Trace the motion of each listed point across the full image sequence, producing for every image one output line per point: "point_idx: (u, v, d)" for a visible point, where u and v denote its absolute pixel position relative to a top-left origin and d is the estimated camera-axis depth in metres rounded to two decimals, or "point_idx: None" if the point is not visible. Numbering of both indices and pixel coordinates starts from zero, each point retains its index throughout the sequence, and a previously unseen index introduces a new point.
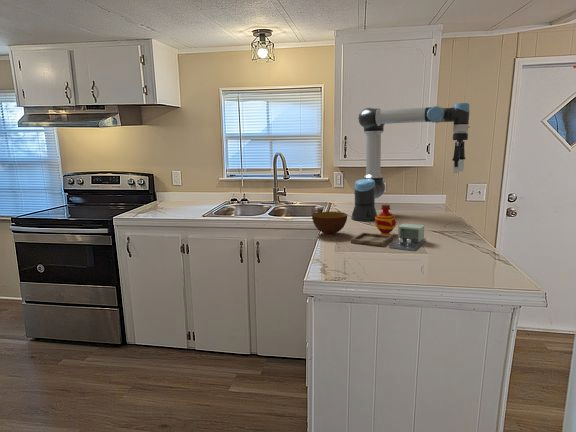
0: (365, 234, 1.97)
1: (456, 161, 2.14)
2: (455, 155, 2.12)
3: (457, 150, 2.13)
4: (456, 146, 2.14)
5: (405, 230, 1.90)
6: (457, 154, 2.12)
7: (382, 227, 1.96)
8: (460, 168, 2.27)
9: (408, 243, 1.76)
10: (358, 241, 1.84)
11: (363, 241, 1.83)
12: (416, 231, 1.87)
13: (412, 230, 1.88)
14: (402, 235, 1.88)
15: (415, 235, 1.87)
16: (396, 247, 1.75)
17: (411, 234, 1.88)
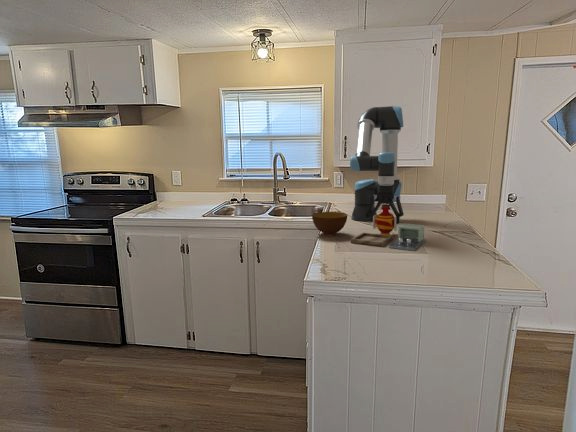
0: (365, 234, 1.97)
1: None
2: None
3: None
4: None
5: (405, 230, 1.90)
6: None
7: (382, 227, 1.96)
8: None
9: (408, 243, 1.76)
10: (358, 241, 1.84)
11: (363, 241, 1.83)
12: (416, 231, 1.87)
13: (412, 230, 1.88)
14: (402, 235, 1.88)
15: (415, 235, 1.87)
16: (396, 247, 1.75)
17: (411, 234, 1.88)
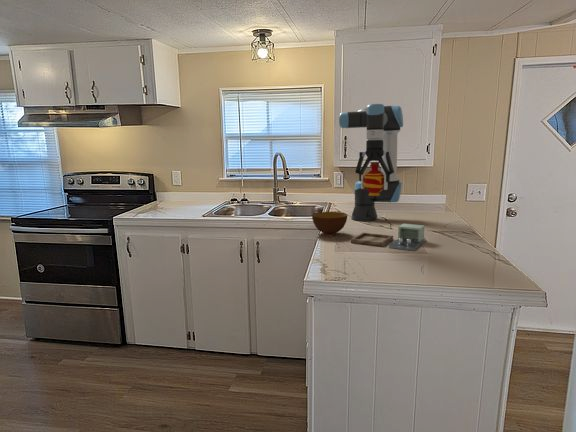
0: (365, 234, 1.97)
1: None
2: None
3: None
4: None
5: (405, 230, 1.90)
6: None
7: (371, 186, 1.81)
8: None
9: (408, 243, 1.76)
10: (358, 241, 1.84)
11: (363, 241, 1.83)
12: (416, 231, 1.87)
13: (412, 230, 1.88)
14: (402, 235, 1.88)
15: (415, 235, 1.87)
16: (396, 247, 1.75)
17: (411, 234, 1.88)
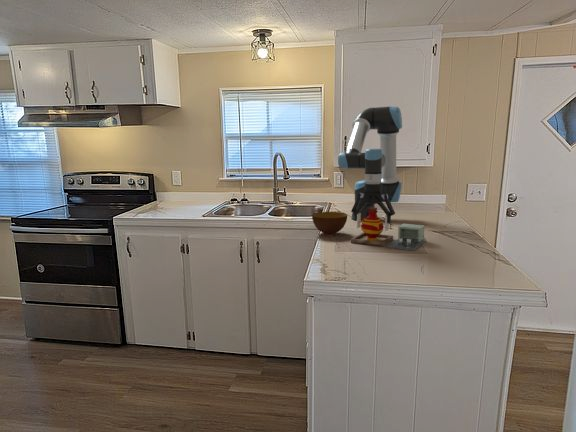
0: None
1: None
2: None
3: None
4: None
5: (405, 230, 1.90)
6: None
7: (369, 231, 1.84)
8: None
9: (408, 243, 1.76)
10: (358, 241, 1.84)
11: (363, 241, 1.83)
12: (416, 231, 1.87)
13: (412, 230, 1.88)
14: (402, 235, 1.88)
15: (415, 235, 1.87)
16: (396, 247, 1.75)
17: (411, 234, 1.88)
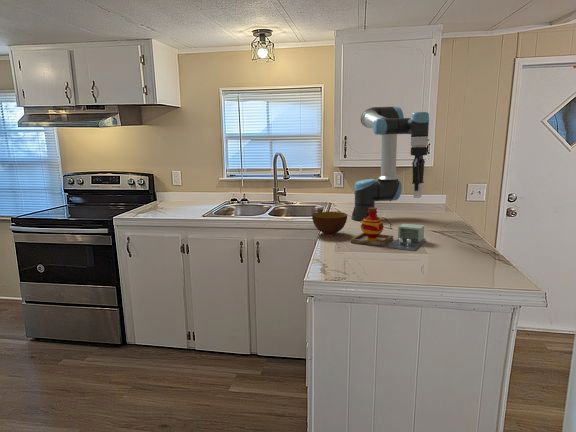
0: None
1: (416, 184, 1.86)
2: (414, 178, 1.85)
3: (416, 172, 1.83)
4: (414, 167, 1.83)
5: (405, 230, 1.90)
6: (416, 177, 1.84)
7: (369, 232, 1.84)
8: None
9: (408, 243, 1.76)
10: (358, 241, 1.84)
11: (363, 241, 1.83)
12: (416, 231, 1.87)
13: (412, 230, 1.88)
14: (402, 235, 1.88)
15: (415, 235, 1.87)
16: (396, 247, 1.75)
17: (411, 234, 1.88)
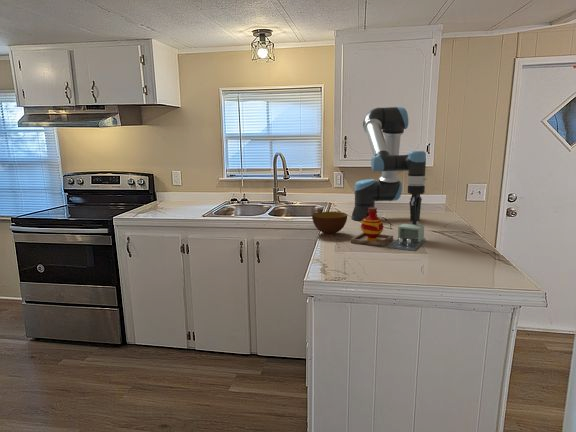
0: None
1: (414, 222, 1.88)
2: (412, 217, 1.86)
3: (413, 211, 1.84)
4: (411, 206, 1.84)
5: (405, 230, 1.89)
6: (414, 216, 1.85)
7: (369, 232, 1.84)
8: None
9: (408, 243, 1.76)
10: (358, 241, 1.84)
11: (363, 241, 1.83)
12: (416, 231, 1.87)
13: (412, 230, 1.88)
14: (402, 235, 1.88)
15: (415, 235, 1.87)
16: (396, 247, 1.75)
17: (411, 234, 1.88)
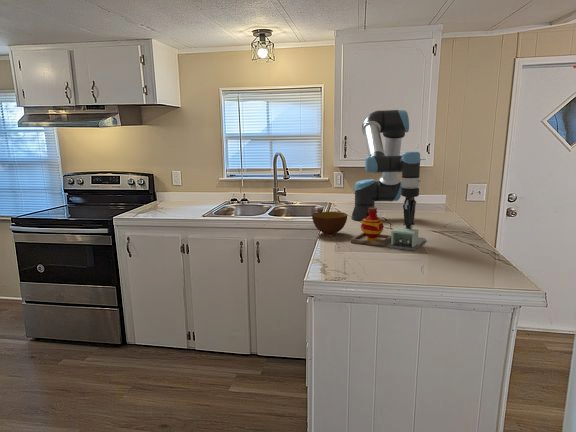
0: None
1: (408, 226, 1.80)
2: (406, 220, 1.78)
3: (407, 215, 1.76)
4: (405, 210, 1.76)
5: (399, 234, 1.81)
6: (408, 219, 1.77)
7: (369, 232, 1.84)
8: None
9: (408, 243, 1.76)
10: (358, 241, 1.84)
11: (363, 241, 1.83)
12: (410, 236, 1.78)
13: (406, 235, 1.79)
14: (395, 239, 1.80)
15: None
16: (396, 247, 1.75)
17: (405, 239, 1.80)
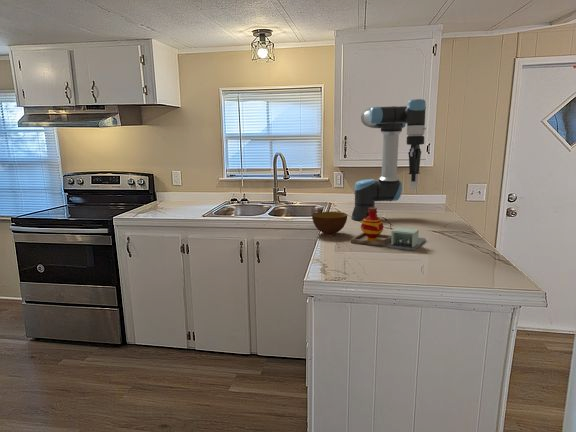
0: None
1: (413, 175, 1.81)
2: (411, 168, 1.79)
3: (412, 162, 1.77)
4: (410, 157, 1.77)
5: (399, 234, 1.81)
6: (413, 167, 1.78)
7: (369, 232, 1.84)
8: None
9: (408, 243, 1.76)
10: (358, 241, 1.84)
11: (363, 241, 1.83)
12: (410, 236, 1.79)
13: (406, 234, 1.79)
14: (395, 239, 1.80)
15: None
16: (396, 247, 1.75)
17: (405, 239, 1.80)
